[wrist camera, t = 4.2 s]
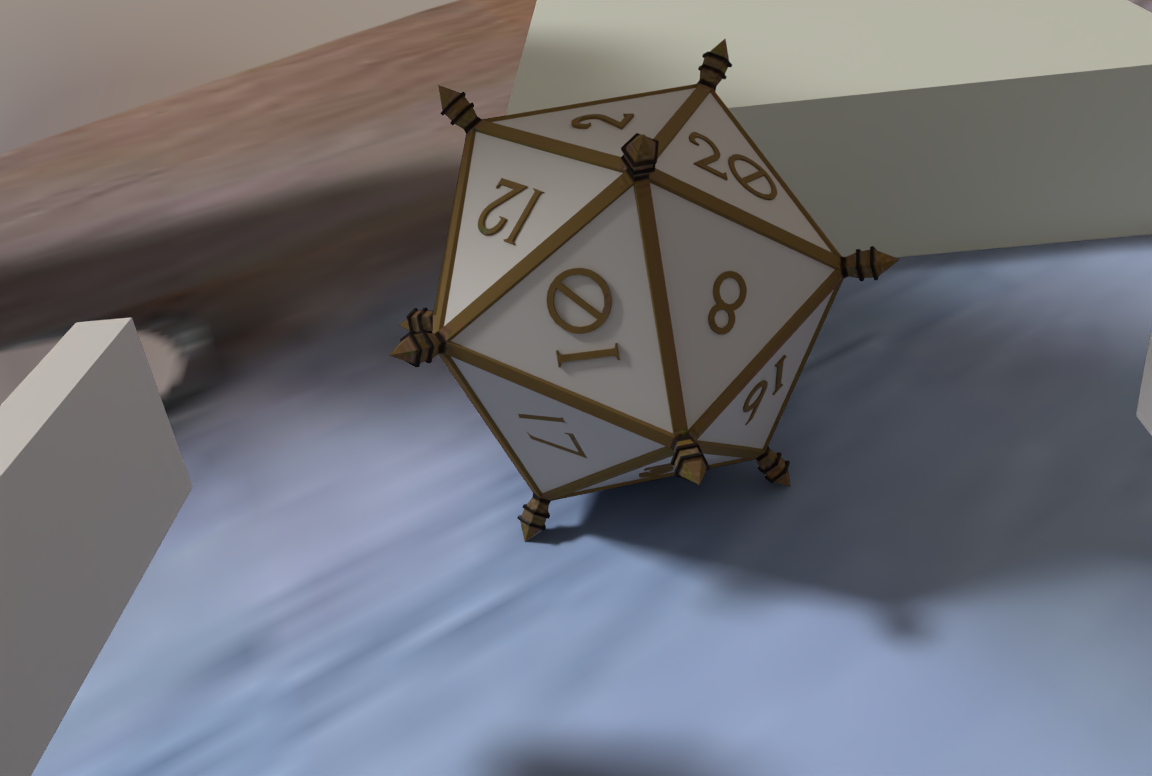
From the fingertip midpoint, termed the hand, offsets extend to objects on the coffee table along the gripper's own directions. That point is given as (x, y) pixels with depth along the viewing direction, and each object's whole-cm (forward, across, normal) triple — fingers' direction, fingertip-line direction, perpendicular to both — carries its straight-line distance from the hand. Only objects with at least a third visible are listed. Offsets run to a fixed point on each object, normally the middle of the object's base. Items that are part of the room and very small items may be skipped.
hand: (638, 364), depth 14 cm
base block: (+24, +6, -6) cm, 25 cm away
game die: (+6, 0, -6) cm, 8 cm away
